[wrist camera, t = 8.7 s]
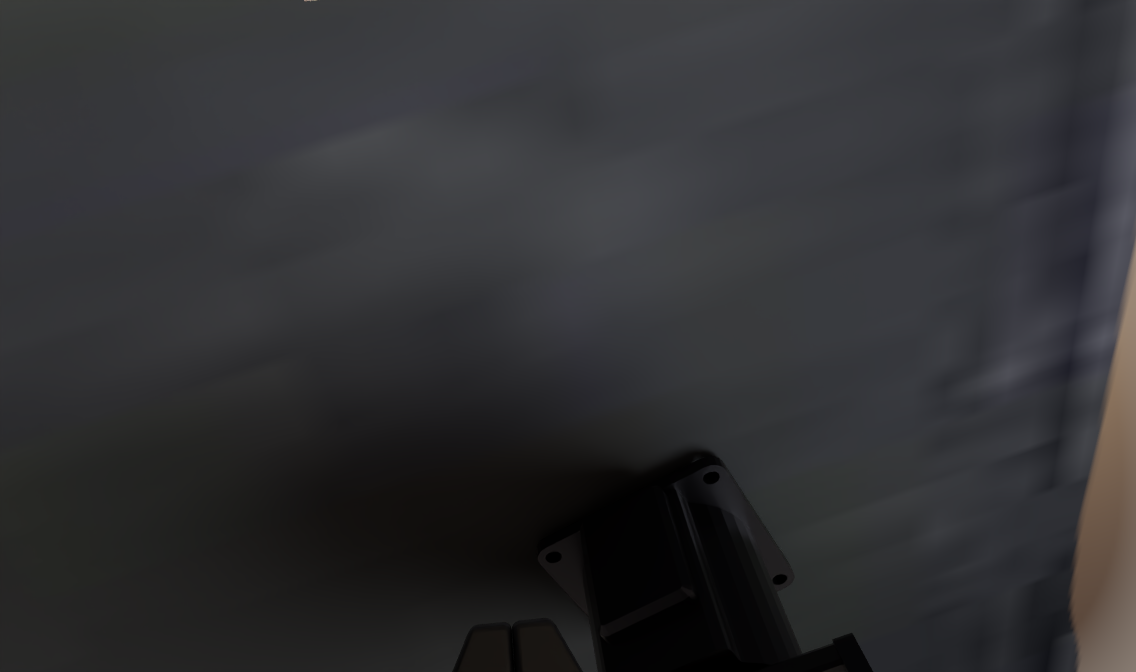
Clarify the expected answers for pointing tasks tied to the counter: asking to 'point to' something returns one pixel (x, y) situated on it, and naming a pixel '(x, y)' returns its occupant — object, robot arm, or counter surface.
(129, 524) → the counter surface
